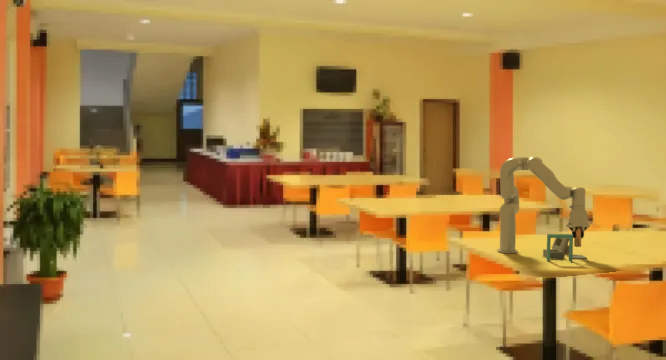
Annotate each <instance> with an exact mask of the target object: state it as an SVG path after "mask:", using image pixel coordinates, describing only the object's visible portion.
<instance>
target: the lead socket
mask: <svg viewBox="0 0 666 360" xmlns="http://www.w3.org/2000/svg"><path fill="white" fill-rule="evenodd" d="M565 254H566V253H565V252H563V251H561V250H560V249H552V248H550V260H565ZM542 256H543V257H544V258H546V259H547V248H543V251H542Z"/></svg>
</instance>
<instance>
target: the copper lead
mask: <svg viewBox="0 0 666 360" xmlns="http://www.w3.org/2000/svg"><path fill="white" fill-rule="evenodd" d="M581 233H582V227H575V238H573V247H576V248H577V247H578V248H581V247H582V238H581Z"/></svg>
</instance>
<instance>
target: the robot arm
mask: <svg viewBox="0 0 666 360" xmlns="http://www.w3.org/2000/svg"><path fill="white" fill-rule="evenodd" d="M499 170H500V171H499V182H500V183H499V187H500V196H501V198H502V199H503V200H504V201H503V204H501V206H500V208H499V221H500V223H499V225H500V226H499V231H500V232H499V234H500V235H499V248H498V249H496V251H497V253H502V254H517V253H518V252H519V250H518V249H516V238H517V237H516V234H517V231H516V230H517V229H516V228H517V223H516V222H517V221H516V220H517V218H516V215H517V214H518V212H519V211H520V192H519V188H518V187H517V185H516V184H515V175H514V173H515V172H517V171H530V172H531V173H532V174H534V176H535V177H537V178H538V179H539V180H540V181H541V182H542V183H543V184H544V186H545V187H547V189H548V190H549V191H550V192H552V193H553V194H554V196H556V198H558V199H560V200H563V201H564V200H568V199H571V205H569V209H570V211H569V215H568V216H569V219H568V222H567V224H565V225H566V226H565V227H566V228H568V229H569V230H570V231H571V234H573V239H574V238H575V227H582V233H581V239H584V236H585V231H586V230H587V229H588V228H590V227H591V225H590V224H589V219H588V212H587V210H586V189H585V187H579V186H576V187H574V186H573V187H572V186H567V185H566V186H565V185H564V184H562V182H560V181H559V180H558V178H557V177H556V175H555V173H554V172H553V170H551V169H550V168H549V167H548V166H547V165H546V164H545V163H544V162H543V160H542V159H541V158H540V157H538V156H525V157H524V156H523V157H522V156H518V157H511V158H509V159H507V160H505V161H504V162H503V163H502V164H501V166H500V169H499Z"/></svg>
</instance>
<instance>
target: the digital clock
mask: <svg viewBox="0 0 666 360" xmlns="http://www.w3.org/2000/svg"><path fill="white" fill-rule="evenodd" d="M553 241H554V242H553V243H552V246H551V249H560V250H561V251H563V252H565V254H569V238H554V240H553Z"/></svg>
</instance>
